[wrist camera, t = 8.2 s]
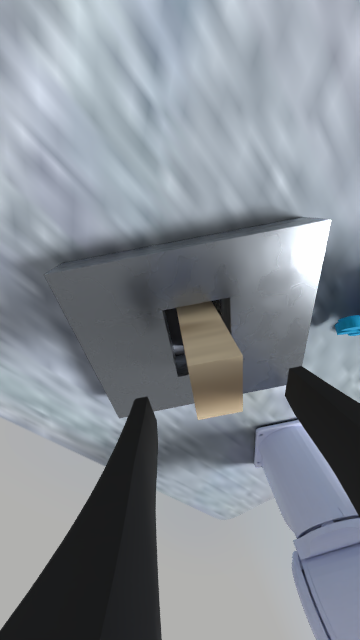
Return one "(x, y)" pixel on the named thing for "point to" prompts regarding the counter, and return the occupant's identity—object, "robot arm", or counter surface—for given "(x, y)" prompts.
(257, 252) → the gray slab with hole
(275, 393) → the counter surface
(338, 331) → the blue irregular piece
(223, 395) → the tan wooden beam
